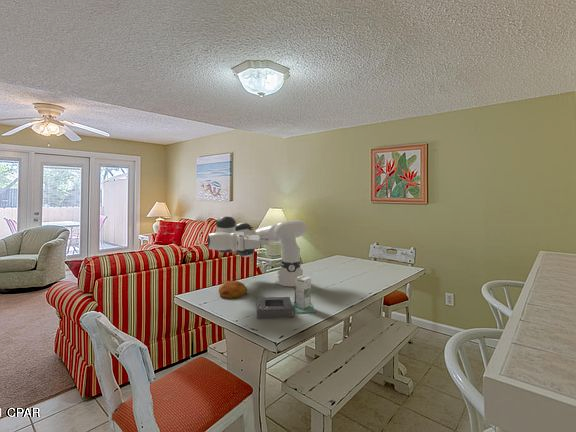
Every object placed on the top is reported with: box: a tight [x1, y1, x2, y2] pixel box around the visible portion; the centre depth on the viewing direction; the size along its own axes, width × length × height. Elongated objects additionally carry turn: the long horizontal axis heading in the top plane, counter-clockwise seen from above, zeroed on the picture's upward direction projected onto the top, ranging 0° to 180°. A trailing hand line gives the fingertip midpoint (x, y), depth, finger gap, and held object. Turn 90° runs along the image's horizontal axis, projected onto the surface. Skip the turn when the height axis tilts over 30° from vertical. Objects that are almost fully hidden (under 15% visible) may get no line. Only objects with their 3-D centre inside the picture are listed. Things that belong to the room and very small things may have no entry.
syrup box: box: [293, 275, 312, 309], centre depth 148 cm, size 6×6×14 cm
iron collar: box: [256, 296, 294, 320], centre depth 143 cm, size 16×16×4 cm
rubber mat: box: [291, 301, 316, 314], centre depth 149 cm, size 14×10×1 cm
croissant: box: [218, 280, 248, 299], centre depth 167 cm, size 14×16×8 cm
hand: (269, 241), depth 151 cm, fingers open, 8 cm apart
